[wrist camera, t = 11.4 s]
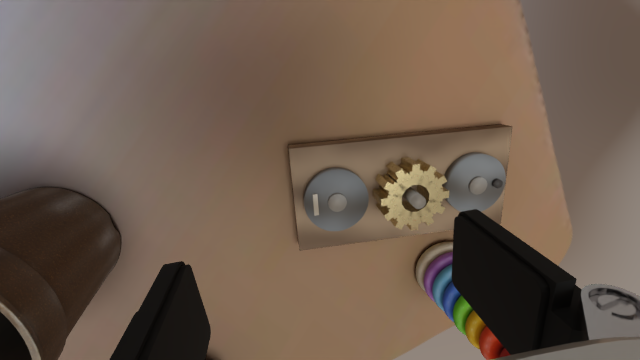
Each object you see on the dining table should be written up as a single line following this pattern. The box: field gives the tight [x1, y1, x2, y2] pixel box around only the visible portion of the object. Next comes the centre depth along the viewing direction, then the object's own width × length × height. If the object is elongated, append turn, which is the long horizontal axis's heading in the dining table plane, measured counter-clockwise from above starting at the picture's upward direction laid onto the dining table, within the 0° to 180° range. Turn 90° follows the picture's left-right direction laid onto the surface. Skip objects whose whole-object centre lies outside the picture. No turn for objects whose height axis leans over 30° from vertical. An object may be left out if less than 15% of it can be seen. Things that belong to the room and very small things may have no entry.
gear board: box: [288, 124, 512, 250], centre depth 34 cm, size 12×25×6 cm, turn 94°
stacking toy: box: [416, 242, 510, 360], centre depth 33 cm, size 8×8×19 cm
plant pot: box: [0, 187, 121, 360], centre depth 26 cm, size 16×16×16 cm
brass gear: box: [373, 157, 449, 231], centre depth 34 cm, size 7×7×3 cm
